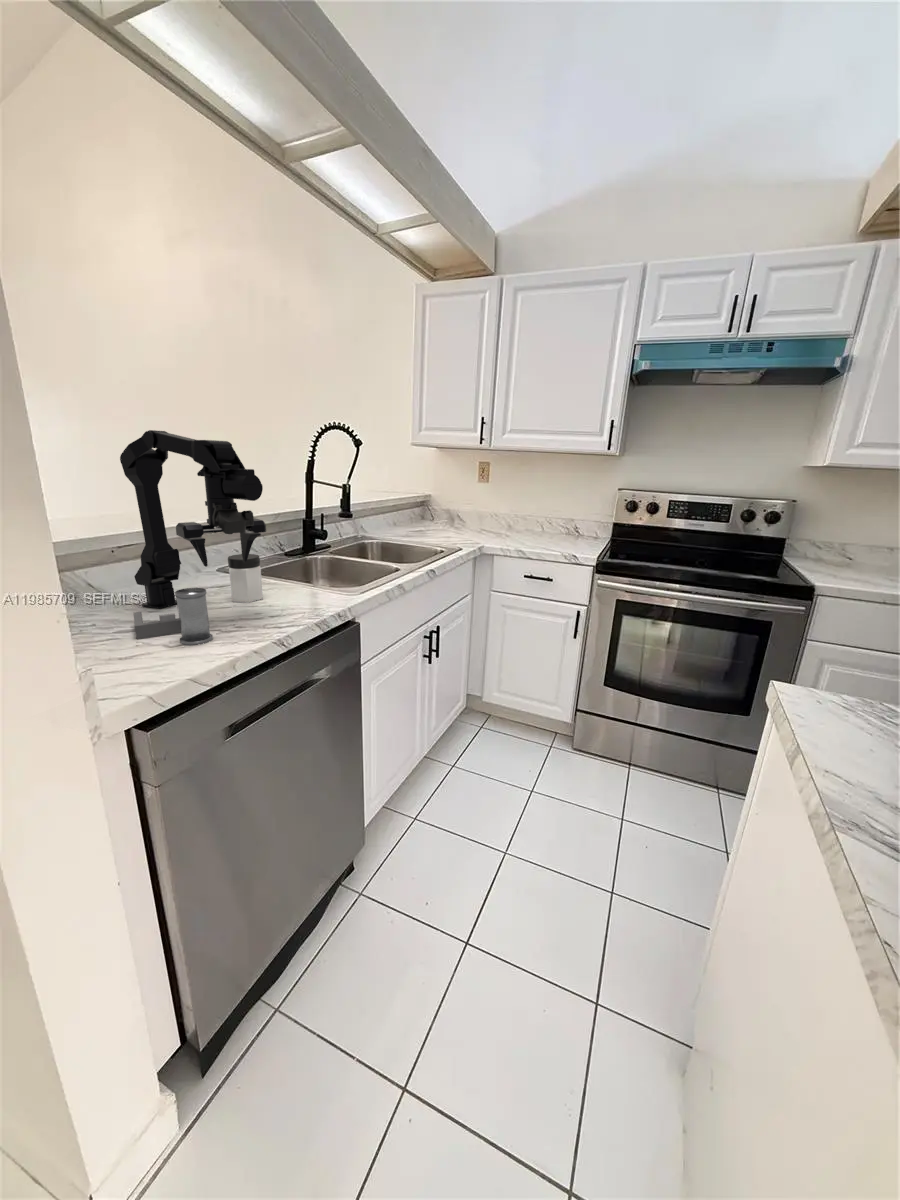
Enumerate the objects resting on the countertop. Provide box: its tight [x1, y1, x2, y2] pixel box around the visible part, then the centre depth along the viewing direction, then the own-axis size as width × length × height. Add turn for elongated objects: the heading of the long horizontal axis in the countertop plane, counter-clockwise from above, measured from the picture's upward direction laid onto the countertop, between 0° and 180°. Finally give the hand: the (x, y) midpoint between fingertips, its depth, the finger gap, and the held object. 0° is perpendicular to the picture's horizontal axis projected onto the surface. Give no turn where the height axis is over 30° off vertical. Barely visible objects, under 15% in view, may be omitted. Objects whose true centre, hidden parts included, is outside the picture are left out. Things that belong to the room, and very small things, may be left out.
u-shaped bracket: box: [133, 611, 181, 640], centre depth 114 cm, size 11×13×4 cm
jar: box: [227, 553, 264, 603], centre depth 137 cm, size 9×8×12 cm
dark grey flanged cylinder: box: [174, 587, 214, 646], centre depth 106 cm, size 6×6×11 cm
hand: (225, 563), depth 118 cm, fingers open, 9 cm apart
